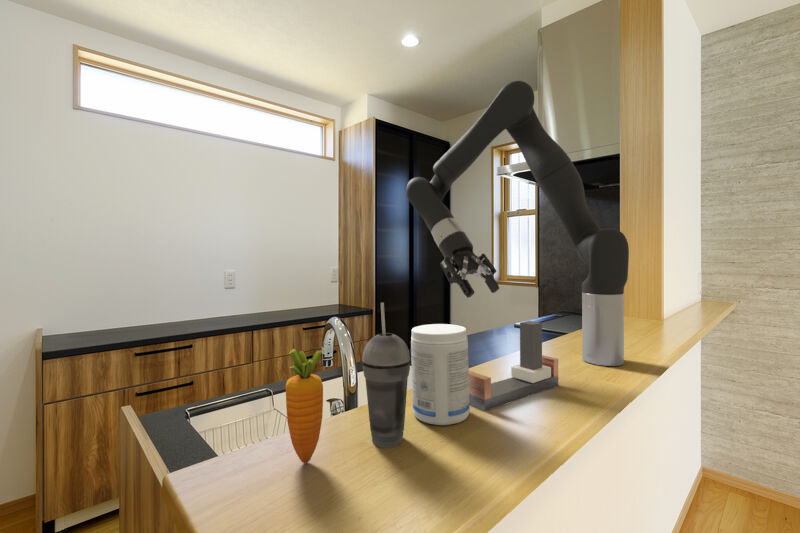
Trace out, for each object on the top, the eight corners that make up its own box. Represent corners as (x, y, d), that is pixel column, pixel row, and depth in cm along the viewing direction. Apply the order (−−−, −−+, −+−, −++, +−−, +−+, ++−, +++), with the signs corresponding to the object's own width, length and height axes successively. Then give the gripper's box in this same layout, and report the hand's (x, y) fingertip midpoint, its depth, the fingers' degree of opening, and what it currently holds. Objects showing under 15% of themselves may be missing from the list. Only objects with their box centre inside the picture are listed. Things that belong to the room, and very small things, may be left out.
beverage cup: (374, 457, 50) (372, 307, 49) (355, 435, 56) (353, 302, 56) (421, 444, 53) (420, 303, 53) (398, 424, 59) (396, 299, 59)
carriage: (529, 371, 79) (529, 319, 79) (551, 377, 75) (550, 322, 75) (511, 376, 76) (511, 322, 76) (532, 383, 72) (532, 326, 72)
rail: (537, 379, 81) (536, 354, 81) (558, 385, 77) (558, 358, 77) (464, 402, 68) (463, 372, 68) (484, 411, 64) (484, 379, 64)
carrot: (329, 454, 51) (328, 344, 50) (318, 475, 46) (316, 353, 45) (294, 452, 51) (292, 343, 51) (279, 473, 46) (276, 352, 46)
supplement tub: (463, 403, 68) (462, 322, 68) (475, 426, 58) (474, 333, 58) (410, 404, 68) (409, 323, 67) (413, 428, 58) (412, 334, 58)
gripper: (437, 231, 88) (471, 288, 80) (479, 229, 96) (513, 280, 89) (422, 251, 93) (453, 306, 85) (463, 247, 101) (494, 297, 94)
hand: (484, 293), depth 87 cm, fingers open, 8 cm apart
